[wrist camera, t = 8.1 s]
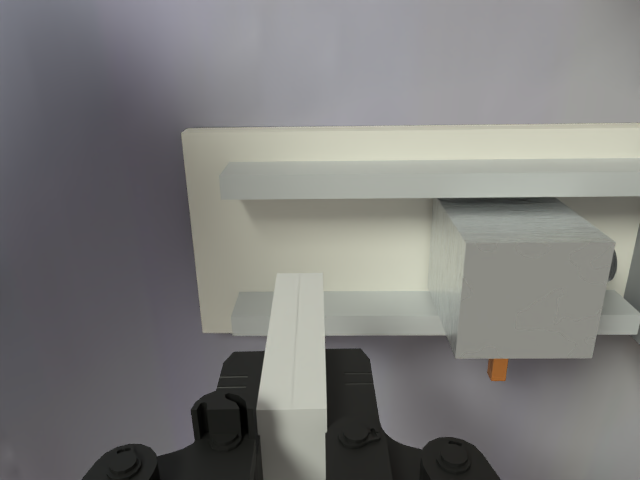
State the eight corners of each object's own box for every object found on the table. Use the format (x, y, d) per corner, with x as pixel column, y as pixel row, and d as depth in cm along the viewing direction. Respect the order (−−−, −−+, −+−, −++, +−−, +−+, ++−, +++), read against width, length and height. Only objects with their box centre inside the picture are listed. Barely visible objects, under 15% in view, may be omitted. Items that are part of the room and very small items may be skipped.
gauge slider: (424, 333, 26) (450, 416, 21) (433, 192, 24) (466, 243, 18) (563, 333, 26) (627, 415, 21) (588, 191, 23) (670, 241, 18)
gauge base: (207, 320, 28) (162, 430, 20) (187, 128, 24) (123, 173, 17) (673, 318, 27) (805, 430, 20) (724, 122, 24) (911, 165, 16)
